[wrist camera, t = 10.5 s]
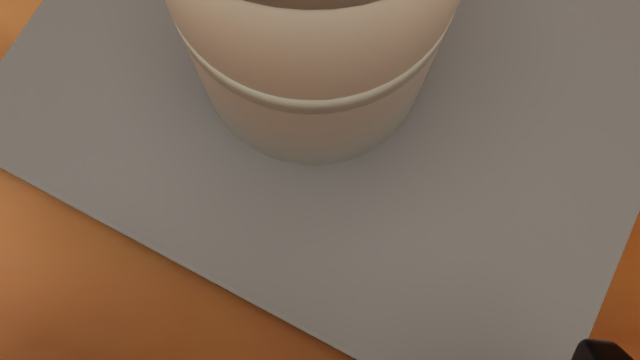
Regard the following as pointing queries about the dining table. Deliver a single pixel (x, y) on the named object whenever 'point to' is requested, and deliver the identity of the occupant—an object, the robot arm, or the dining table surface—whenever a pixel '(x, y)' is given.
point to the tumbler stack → (312, 69)
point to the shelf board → (359, 176)
